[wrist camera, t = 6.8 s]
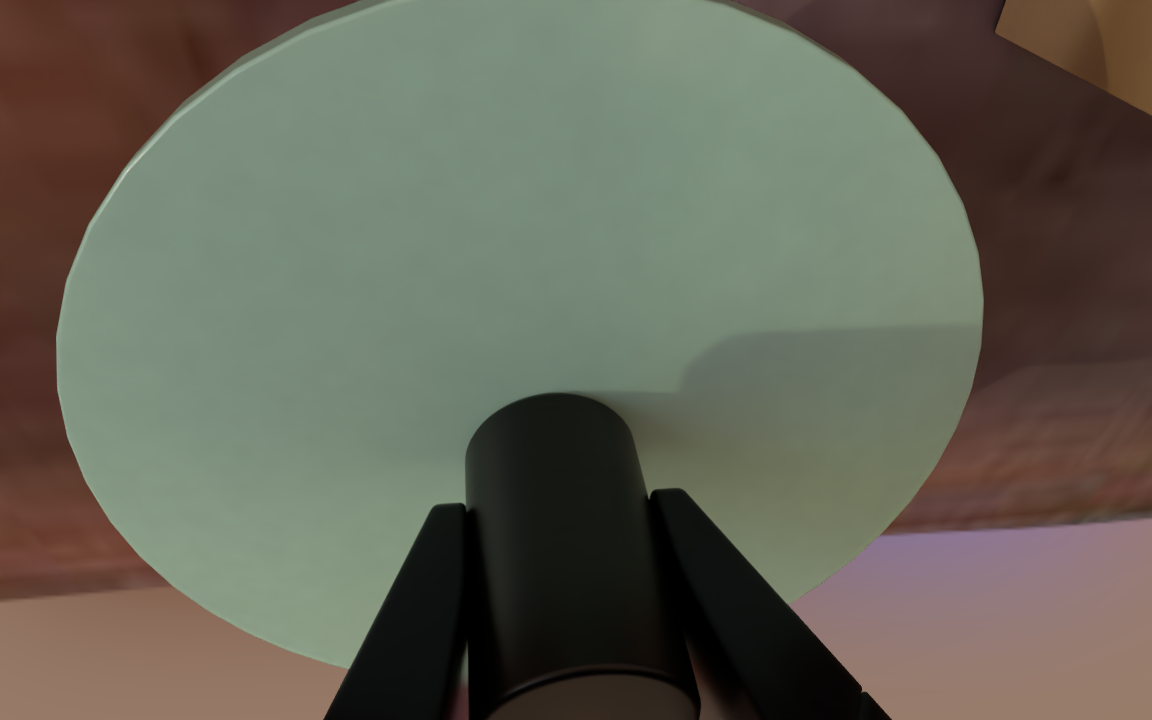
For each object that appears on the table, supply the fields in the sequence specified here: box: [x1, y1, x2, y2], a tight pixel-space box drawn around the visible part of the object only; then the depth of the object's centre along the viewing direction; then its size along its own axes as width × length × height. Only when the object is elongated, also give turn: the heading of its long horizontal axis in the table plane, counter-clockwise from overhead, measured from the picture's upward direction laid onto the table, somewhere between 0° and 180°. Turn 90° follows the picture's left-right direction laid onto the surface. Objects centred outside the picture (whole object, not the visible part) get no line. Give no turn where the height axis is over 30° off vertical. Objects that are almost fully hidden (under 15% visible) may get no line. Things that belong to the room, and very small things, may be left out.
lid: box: [56, 0, 984, 720], centre depth 10 cm, size 12×12×5 cm
